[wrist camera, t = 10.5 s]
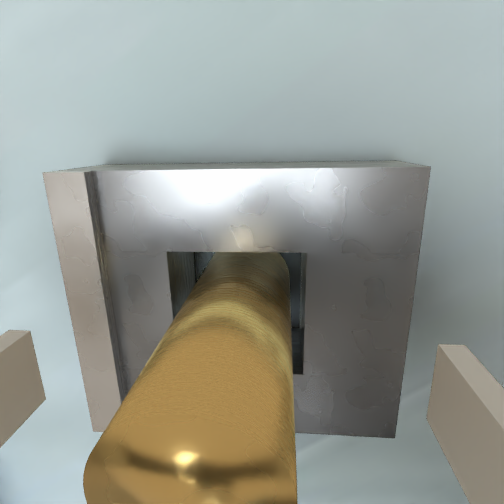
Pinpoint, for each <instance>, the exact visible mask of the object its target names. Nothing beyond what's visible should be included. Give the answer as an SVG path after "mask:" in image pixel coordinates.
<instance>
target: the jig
mask: <svg viewBox="0 0 504 504" xmlns="http://www.w3.org/2000/svg"><path fill="white" fill-rule="evenodd" d="M430 170H431V167H430V166H424V165H419V164H413V163H407V162H402V161H396V160H394V161H323V162H251V163H179V164H108V165H97V166H89V167H82V168H74V169H67V170H59V171H52V172H44V173H43V178H44V183H45V188H46V193H47V198H48V203H49V208H50V213H51V219H52V224H53V229H54V234H55V239H56V244H57V249H58V254H59V259H60V264H61V269H62V275H63V280H64V285H65V290H66V295H67V300H68V305H69V310H70V315H71V320H72V326H73V331H74V336H75V341H76V346H77V351H78V356H79V361H80V366H81V371H82V376H83V382H84V387H85V392H86V397H87V402H88V407H89V412H90V417H91V422H92V427H93V431H94V432H104V431H105V429H106V428H107V426H108V425H109V423H110V421H111V420H112V418H113V416H114V415H115V413H116V412H117V410H118V408H119V407H120V405H121V404H122V402H123V400H124V399H125V397H126V396H127V394H128V392H129V391H130V389H131V387H132V386H133V384H134V383H135V381H136V379H137V378H138V376H139V375H140V373H141V371H142V370H143V368H144V367H145V365H146V363H147V362H148V360H149V358H150V357H151V355H152V354H153V352H154V350H155V349H156V347H157V346H158V344H159V342H160V341H161V339H162V338H163V336H164V334H165V333H166V331H167V329H168V328H169V326H170V325H171V323H172V321H173V320H174V318H175V317H176V315H177V313H178V312H179V310H180V309H181V307H182V305H183V304H184V302H185V300H186V299H187V297H188V296H189V294H190V292H191V291H192V289H193V288H194V286H195V284H196V281H195V268H194V254H193V252H284V253H301V287H300V326H299V328H291V335H292V364H293V393H294V421H295V433H310V434H328V435H346V436H364V437H382V438H395V432H396V425H397V417H398V410H399V402H400V395H401V387H402V380H403V372H404V365H405V357H406V350H407V342H408V335H409V327H410V320H411V312H412V305H413V297H414V290H415V282H416V275H417V267H418V260H419V252H420V245H421V237H422V230H423V222H424V215H425V207H426V200H427V192H428V185H429V177H430Z"/></svg>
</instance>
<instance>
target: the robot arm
mask: <svg viewBox="0 0 504 504" xmlns="http://www.w3.org/2000/svg"><path fill="white" fill-rule="evenodd" d="M45 399H46V397H45V393H44V388H43V384H42V380H41V376H40V371H39V367H38V363H37V358H36V354H35V350H34V345H33V341H32V337H31V332H30V331H20V330H8V331H7V332H5V333H4V334H2V335H1V336H0V448H1V446H2V445H3V444H4V443H5V442H6V441H7V440H8V439H9V438H10V437H11V436H12V435H13V434H14V433H15V431H16V430H17V429H18V428H19V427H20V426H21V425H22V424H23V423H24V422H25V421H26V420H27V419H28V418H29V417H30V415H31V414H32V413H33V412H34V411H35V410H36V409H37V408H38V407H39V406H40V405H41V404H42V403H43V402H44V401H45ZM426 419H427V421H428V423H429V425H430V427H431V429H432V431H433V433H434V435H435V436H436V438H437V440H438V442H439V444H440V446H441V448H442V450H443V452H444V454H445V456H446V458H447V460H448V462H449V464H450V466H451V468H452V470H453V472H454V474H455V475H456V477H457V479H458V481H459V483H460V485H461V487H462V489H463V491H464V493H465V495H466V497H467V499H468V501H469V503H470V504H504V388H503V387H502V386H501V385H500V384H499V383H498V382H497V380H496V379H495V378H494V377H493V376H492V375H491V374H490V373H489V371H488V370H487V369H486V368H485V367H484V366H483V365H482V364H481V362H480V361H479V360H478V359H477V358H476V357H475V356H474V355H473V353H472V352H471V351H470V350H469V349H468V348H467V347H466V346H465V345H449V344H438V349H437V355H436V361H435V368H434V374H433V380H432V386H431V393H430V399H429V405H428V411H427V418H426Z"/></svg>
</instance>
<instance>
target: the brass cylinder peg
mask: <svg viewBox="0 0 504 504" xmlns="http://www.w3.org/2000/svg"><path fill="white" fill-rule="evenodd" d="M83 486H84V493H85V498H86V501H87V504H297V479H296V450H295V421H294V393H293V364H292V335H291V307H290V279H289V271H288V267H287V265H286V263H285V261H284V259H283V258H282V256H281V255H280V254H279V253H278V252H216V253H215V254H214V255H213V257H212V259H211V260H210V262H209V263H208V265H207V267H206V268H205V270H204V271H203V273H202V275H201V276H200V278H199V280H198V281H197V283H196V284H195V286H194V288H193V289H192V291H191V292H190V294H189V296H188V297H187V299H186V300H185V302H184V304H183V305H182V307H181V309H180V310H179V312H178V313H177V315H176V317H175V318H174V320H173V321H172V323H171V325H170V326H169V328H168V329H167V331H166V333H165V334H164V336H163V338H162V339H161V341H160V342H159V344H158V346H157V347H156V349H155V350H154V352H153V354H152V355H151V357H150V358H149V360H148V362H147V363H146V365H145V367H144V368H143V370H142V371H141V373H140V375H139V376H138V378H137V379H136V381H135V383H134V384H133V386H132V387H131V389H130V391H129V392H128V394H127V396H126V397H125V399H124V400H123V402H122V404H121V405H120V407H119V408H118V410H117V412H116V413H115V415H114V416H113V418H112V420H111V421H110V423H109V425H108V426H107V428H106V429H105V431H104V433H103V434H102V436H101V437H100V439H99V441H98V442H97V444H96V445H95V447H94V449H93V450H92V452H91V454H90V455H89V458H88V460H87V463H86V466H85V470H84V478H83Z"/></svg>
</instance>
